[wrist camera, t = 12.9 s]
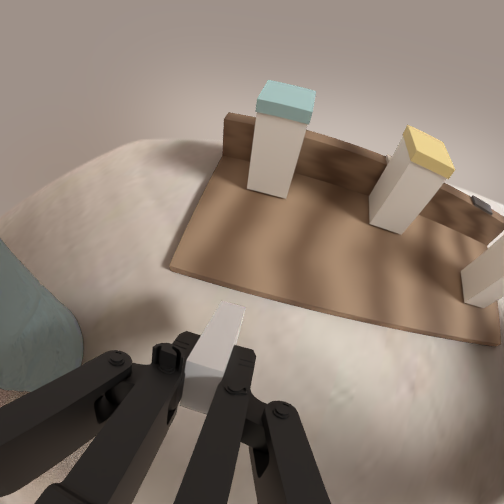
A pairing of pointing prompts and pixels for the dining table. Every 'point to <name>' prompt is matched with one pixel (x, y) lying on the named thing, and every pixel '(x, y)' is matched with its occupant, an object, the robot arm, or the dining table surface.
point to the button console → (339, 241)
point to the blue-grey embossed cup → (33, 330)
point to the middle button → (409, 181)
